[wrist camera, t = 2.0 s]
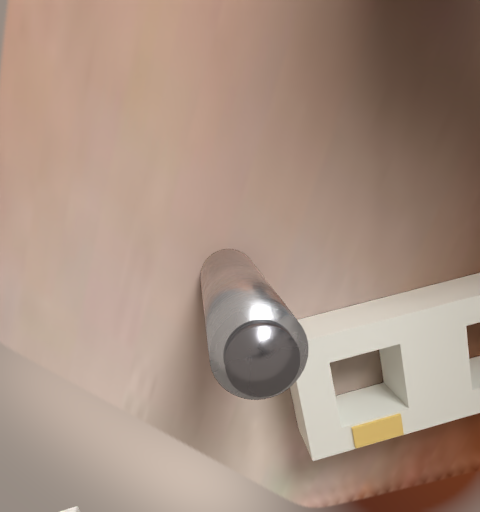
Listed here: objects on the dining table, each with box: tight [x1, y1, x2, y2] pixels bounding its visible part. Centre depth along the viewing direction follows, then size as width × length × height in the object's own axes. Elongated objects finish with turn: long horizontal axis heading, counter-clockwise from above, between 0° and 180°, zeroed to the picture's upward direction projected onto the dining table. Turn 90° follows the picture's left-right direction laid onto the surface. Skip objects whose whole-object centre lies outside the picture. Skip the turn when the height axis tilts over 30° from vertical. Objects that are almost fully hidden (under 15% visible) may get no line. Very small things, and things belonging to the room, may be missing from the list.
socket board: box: [290, 273, 480, 461], centre depth 32 cm, size 10×22×4 cm, turn 103°
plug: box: [200, 249, 308, 400], centre depth 23 cm, size 4×4×15 cm
